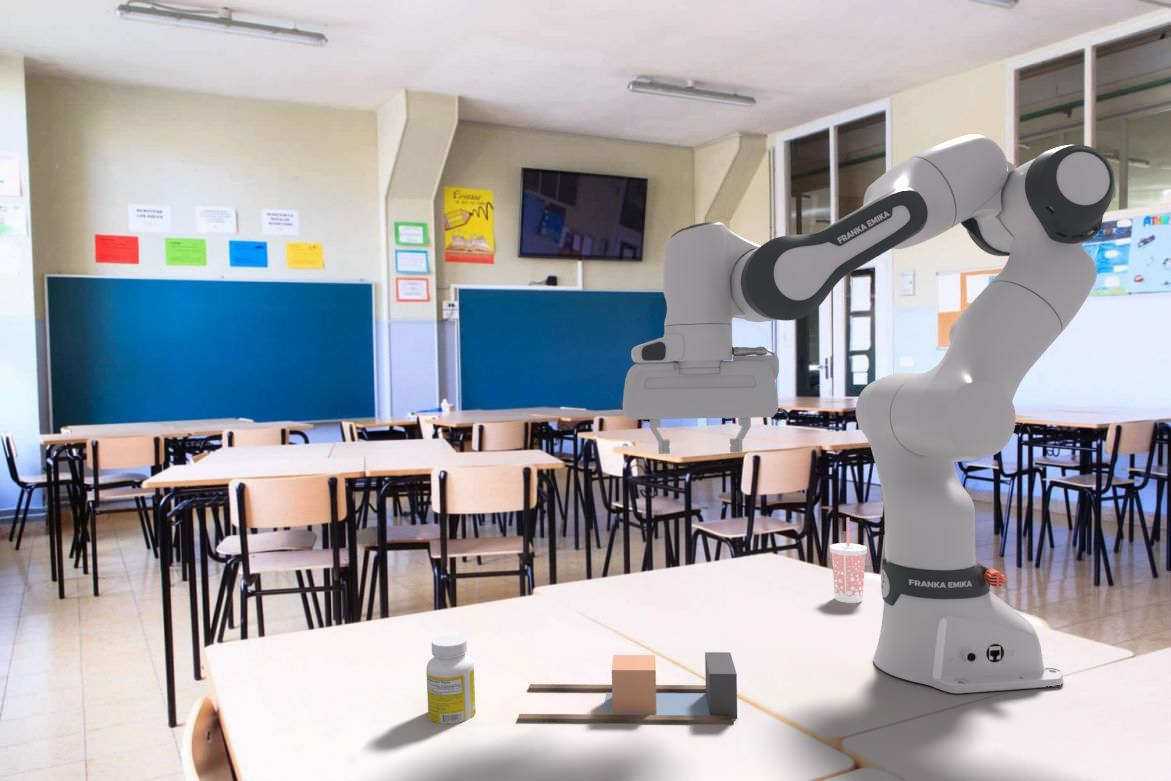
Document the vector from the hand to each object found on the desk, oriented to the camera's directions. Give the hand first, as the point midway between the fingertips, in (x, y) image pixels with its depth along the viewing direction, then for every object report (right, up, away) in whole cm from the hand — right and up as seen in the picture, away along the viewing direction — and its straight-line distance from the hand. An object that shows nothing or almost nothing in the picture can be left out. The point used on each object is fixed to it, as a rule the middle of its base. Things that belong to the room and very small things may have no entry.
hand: (700, 453), depth 111 cm
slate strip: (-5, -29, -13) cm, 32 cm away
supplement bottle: (-31, -30, -14) cm, 45 cm away
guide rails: (-10, -30, -12) cm, 34 cm away
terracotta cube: (-9, -29, -12) cm, 32 cm away
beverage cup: (+30, -28, +33) cm, 52 cm away
